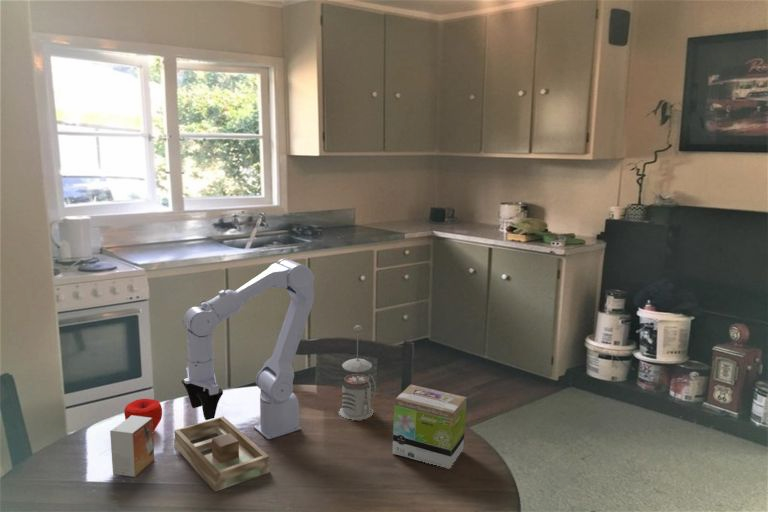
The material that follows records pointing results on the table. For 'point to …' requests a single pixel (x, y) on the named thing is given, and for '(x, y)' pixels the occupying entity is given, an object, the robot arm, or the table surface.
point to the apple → (145, 410)
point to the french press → (360, 405)
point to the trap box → (218, 475)
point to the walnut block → (225, 448)
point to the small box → (132, 445)
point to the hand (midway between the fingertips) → (203, 412)
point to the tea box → (429, 425)
